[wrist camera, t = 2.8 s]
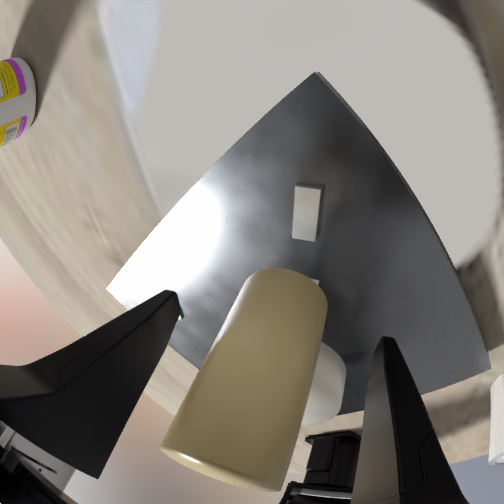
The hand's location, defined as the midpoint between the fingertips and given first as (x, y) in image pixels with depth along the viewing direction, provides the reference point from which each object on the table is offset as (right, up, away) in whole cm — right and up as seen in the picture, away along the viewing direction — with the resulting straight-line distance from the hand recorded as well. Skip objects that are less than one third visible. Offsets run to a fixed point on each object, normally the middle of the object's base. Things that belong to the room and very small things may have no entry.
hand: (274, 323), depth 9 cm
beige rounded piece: (+1, -2, +5) cm, 5 cm away
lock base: (+2, -2, +9) cm, 9 cm away
